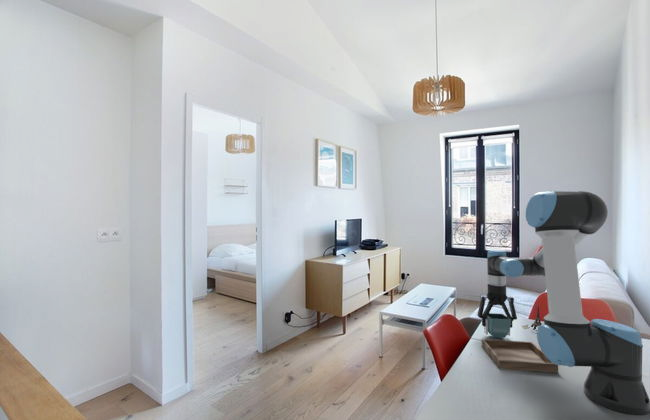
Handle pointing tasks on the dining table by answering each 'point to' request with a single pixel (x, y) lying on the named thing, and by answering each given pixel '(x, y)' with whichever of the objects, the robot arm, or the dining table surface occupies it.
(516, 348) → the box
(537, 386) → the dining table surface
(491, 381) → the dining table surface
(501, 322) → the flower pot
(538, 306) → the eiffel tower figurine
